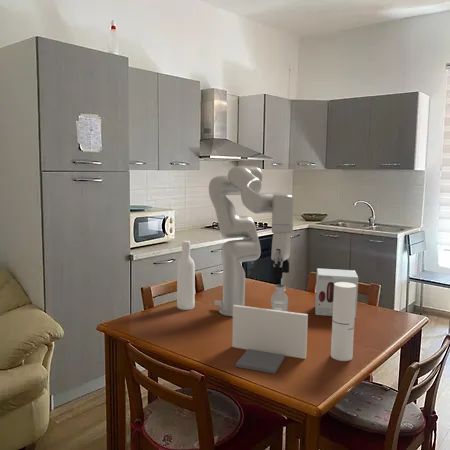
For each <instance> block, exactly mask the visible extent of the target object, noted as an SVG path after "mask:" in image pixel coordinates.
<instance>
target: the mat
mask: <svg viewBox="0 0 450 450" xmlns="http://www.w3.org/2000/svg"><path fill="white" fill-rule="evenodd" d="M285 359H286V356H285V355H283V354H276V353H270V352H264V351H258V350H252V349H246V351H245V352H244V353H243V354H242V355H241V357H239V359H238V360H237V361H236V363H235V364H234V365H235V368H241V369H247V370H253V371H259V372H264V373H270V374H276V372H277V371H278V370H279V368H280V366H281V365H282V363H283V362H284V360H285Z"/></svg>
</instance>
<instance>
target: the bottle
mask: <svg viewBox="0 0 450 450" xmlns="http://www.w3.org/2000/svg"><path fill="white" fill-rule="evenodd" d="M191 246H192V245H191V241H190V240H182V241H181V257H180V258H179V259H178V261H177V265H176V278H177V279H176V282H177V283H176V307H177V309H179V310H182V311H190V310H193V309H194V308H195V304H196V301H195V299H196V298H195V297H196V296H195V288H196V287H195V286H196V284H195V283H196V282H195V281H196V280H195V277H196V275H195V273H196V271H195V270H196V269H195V268H196V265H195V264H196V263H195V261H194V259H193V258H192V257H191Z"/></svg>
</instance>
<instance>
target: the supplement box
mask: <svg viewBox="0 0 450 450" xmlns="http://www.w3.org/2000/svg"><path fill="white" fill-rule="evenodd" d="M315 281H316V283H315V302H314V312H315V315H316V316H325V317H327V316H328V317H333V297H334V283H337V282H348V283H353V284H355V285H356V300H355V319H356V318H357V306H358V294H359V293H358V291H359V275H358V274H357V272H356V270H355V269H353V270H352V269H341V268H340V269H335V268H334V269H333V268H320V267H319V268H316V280H315Z"/></svg>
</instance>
